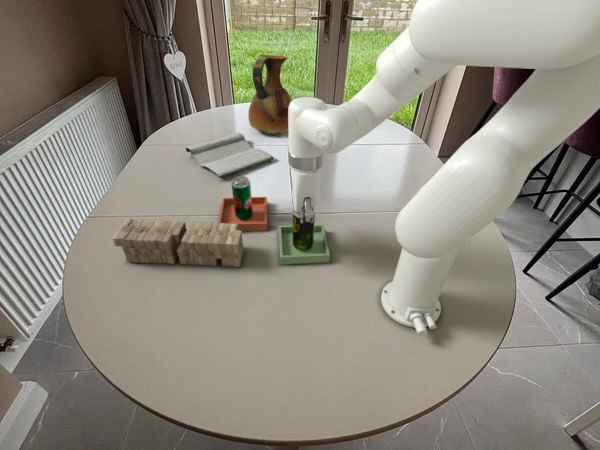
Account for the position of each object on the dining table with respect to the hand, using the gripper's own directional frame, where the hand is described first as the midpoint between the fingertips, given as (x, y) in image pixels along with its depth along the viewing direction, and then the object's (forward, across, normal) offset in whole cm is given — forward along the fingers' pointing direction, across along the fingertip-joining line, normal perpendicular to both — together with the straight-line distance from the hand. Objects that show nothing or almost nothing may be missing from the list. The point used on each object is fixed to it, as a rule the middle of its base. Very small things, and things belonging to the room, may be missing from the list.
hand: (304, 221), depth 82 cm
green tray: (+9, 0, 0) cm, 9 cm away
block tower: (+9, +1, -30) cm, 31 cm away
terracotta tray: (+8, -14, -16) cm, 23 cm away
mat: (+9, -50, -23) cm, 56 cm away
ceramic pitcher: (+8, -78, -7) cm, 79 cm away
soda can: (+8, -14, -16) cm, 23 cm away
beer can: (+8, 0, 0) cm, 8 cm away
